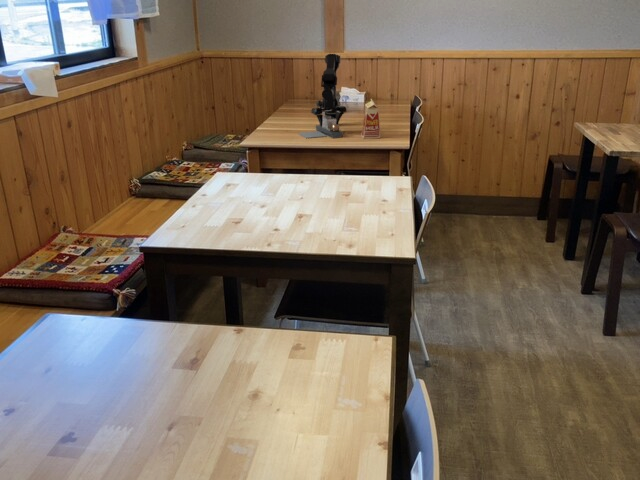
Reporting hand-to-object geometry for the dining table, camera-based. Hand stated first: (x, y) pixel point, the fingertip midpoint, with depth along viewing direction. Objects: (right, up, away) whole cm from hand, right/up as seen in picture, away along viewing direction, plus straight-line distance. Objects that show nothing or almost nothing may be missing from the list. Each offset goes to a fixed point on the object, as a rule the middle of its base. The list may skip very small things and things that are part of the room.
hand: (329, 125), depth 317 cm
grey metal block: (0, -1, 0) cm, 1 cm away
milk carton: (+22, -7, -6) cm, 24 cm away
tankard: (+3, +21, +62) cm, 66 cm away
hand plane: (0, -4, +2) cm, 4 cm away
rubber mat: (-9, -6, -2) cm, 11 cm away
